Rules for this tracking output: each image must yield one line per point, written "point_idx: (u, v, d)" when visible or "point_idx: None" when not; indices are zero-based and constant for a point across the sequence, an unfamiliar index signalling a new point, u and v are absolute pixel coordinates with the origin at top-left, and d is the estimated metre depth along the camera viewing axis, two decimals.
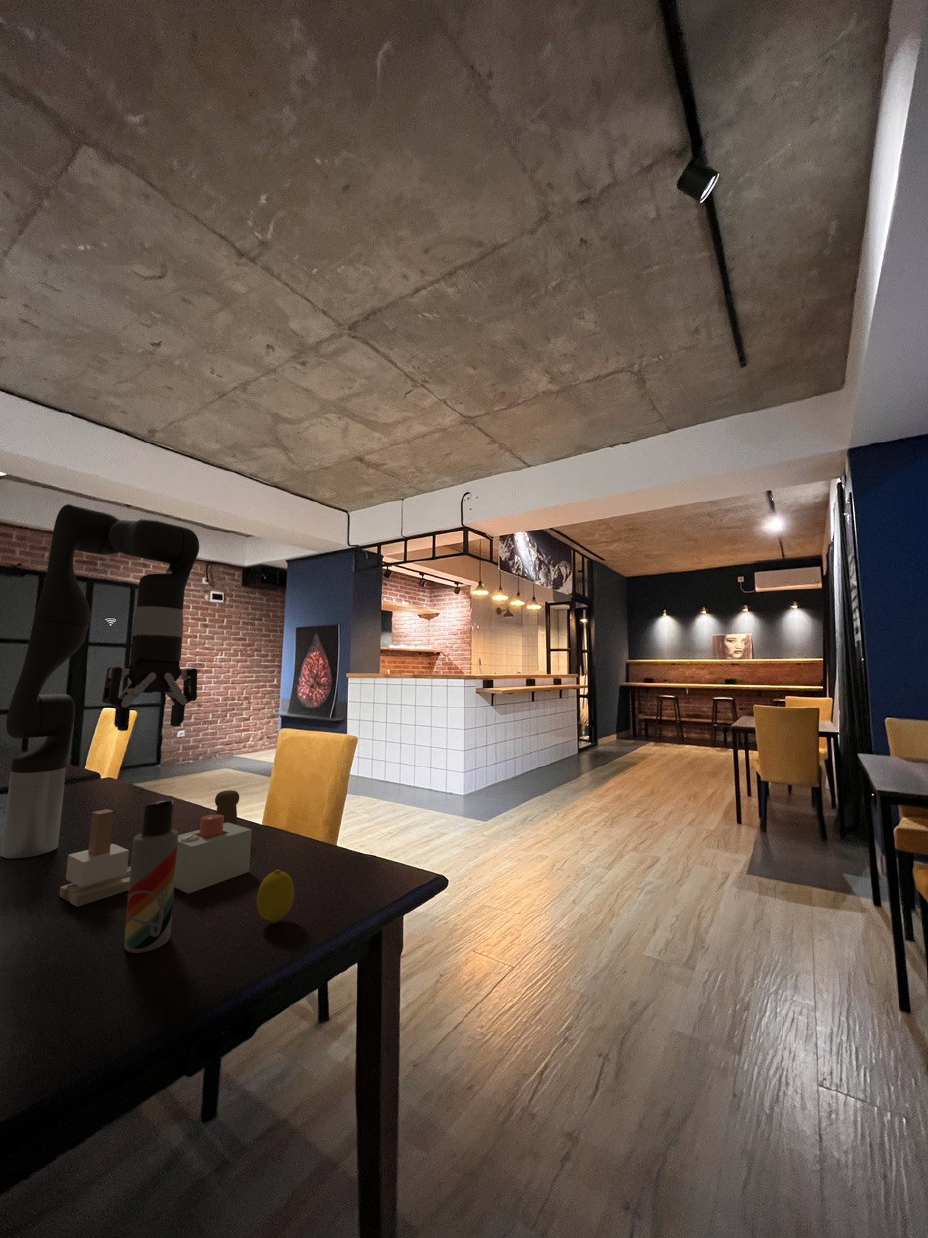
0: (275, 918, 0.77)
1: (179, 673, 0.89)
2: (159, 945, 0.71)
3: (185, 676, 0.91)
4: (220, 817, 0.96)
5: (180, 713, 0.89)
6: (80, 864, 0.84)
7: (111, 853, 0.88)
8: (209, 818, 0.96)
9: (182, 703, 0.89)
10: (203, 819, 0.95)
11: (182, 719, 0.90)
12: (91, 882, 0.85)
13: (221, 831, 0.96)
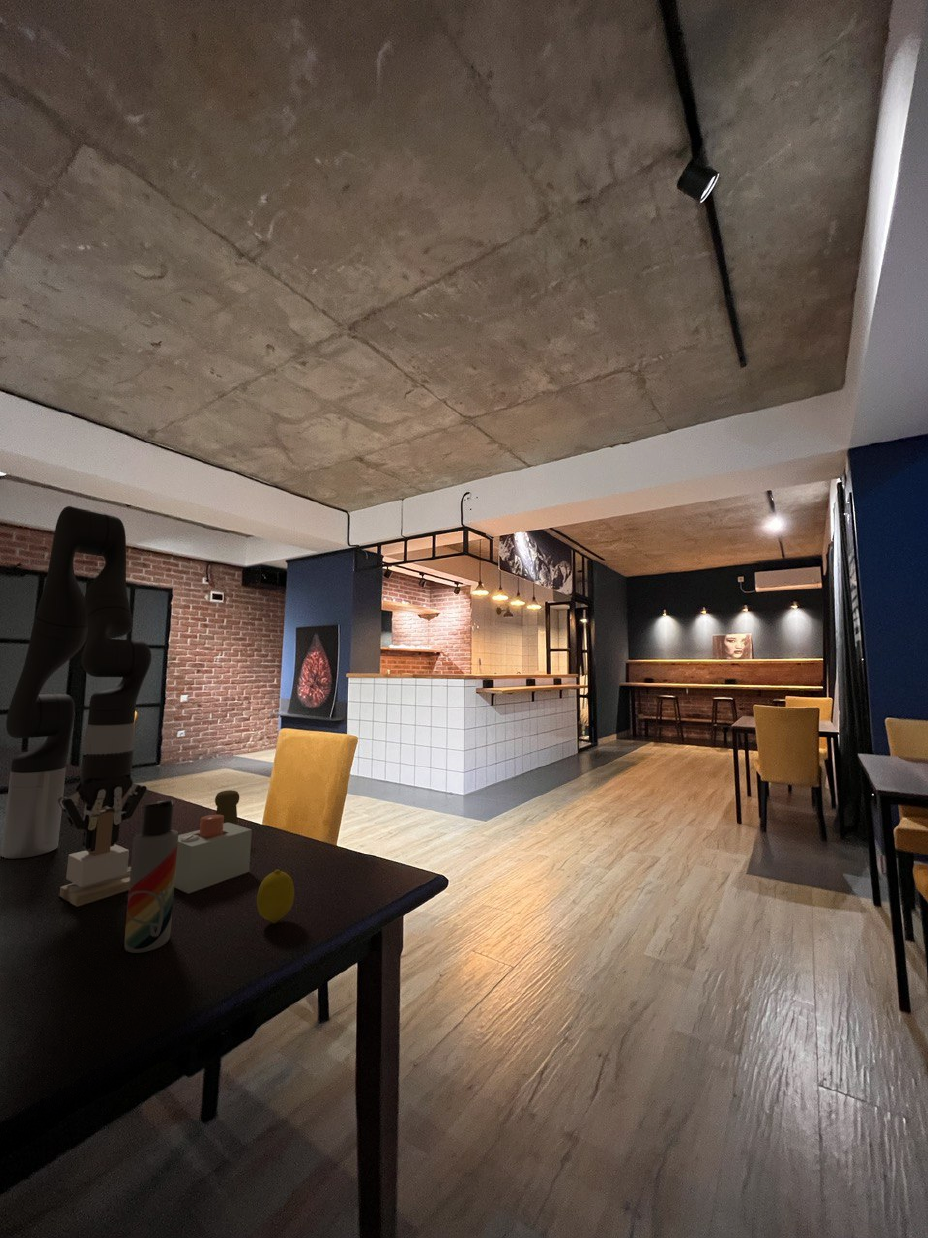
0: (275, 918, 0.77)
1: (129, 786, 0.92)
2: (159, 945, 0.71)
3: (133, 791, 0.93)
4: (220, 817, 0.96)
5: (114, 833, 0.89)
6: (80, 864, 0.84)
7: (111, 853, 0.88)
8: (209, 818, 0.96)
9: (115, 822, 0.90)
10: (203, 819, 0.95)
11: (116, 838, 0.90)
12: (91, 882, 0.85)
13: (221, 831, 0.96)
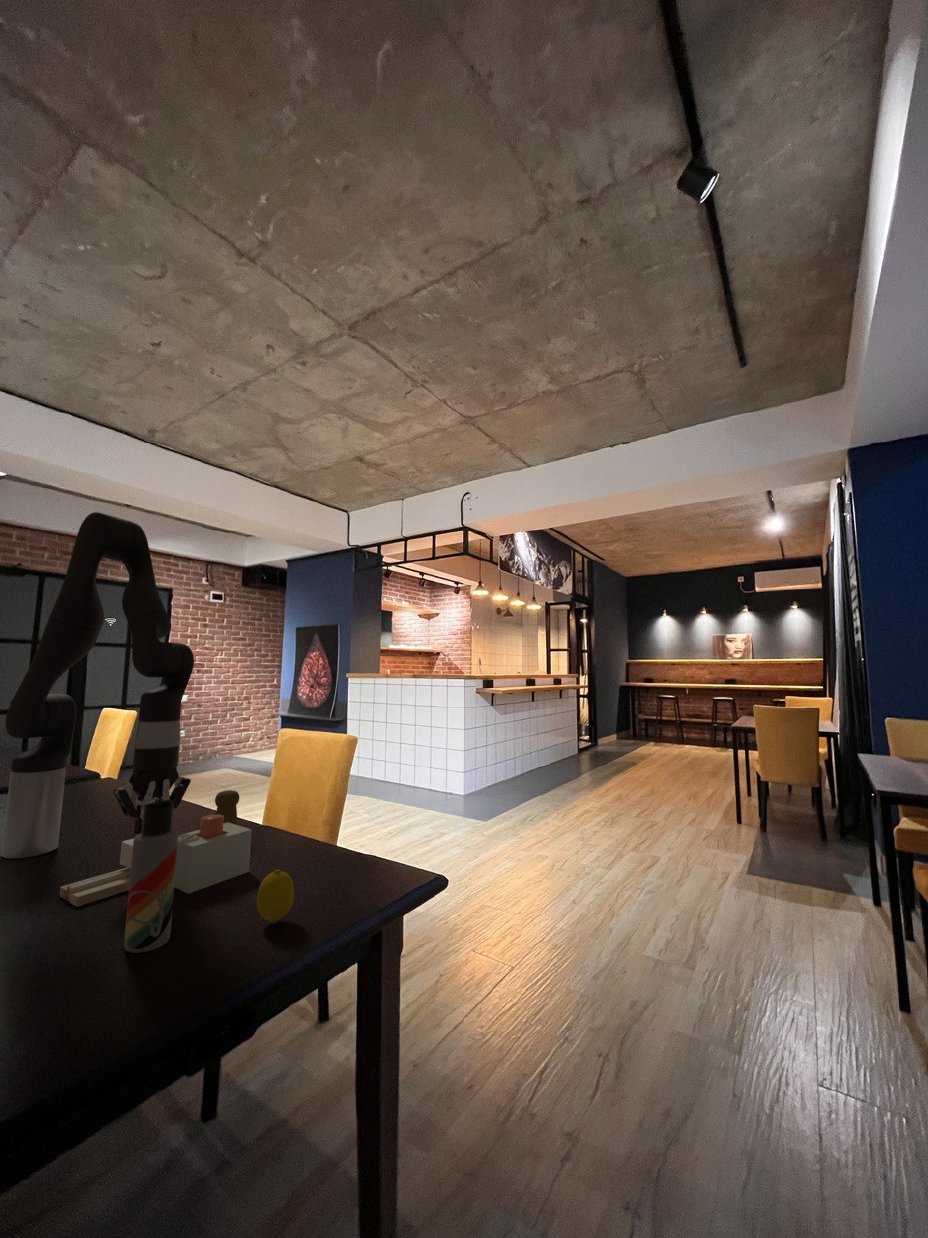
0: (275, 918, 0.77)
1: (175, 778, 0.99)
2: (159, 945, 0.71)
3: (178, 783, 1.00)
4: (220, 817, 0.96)
5: None
6: None
7: None
8: (209, 818, 0.96)
9: None
10: (203, 819, 0.95)
11: None
12: None
13: (221, 831, 0.96)
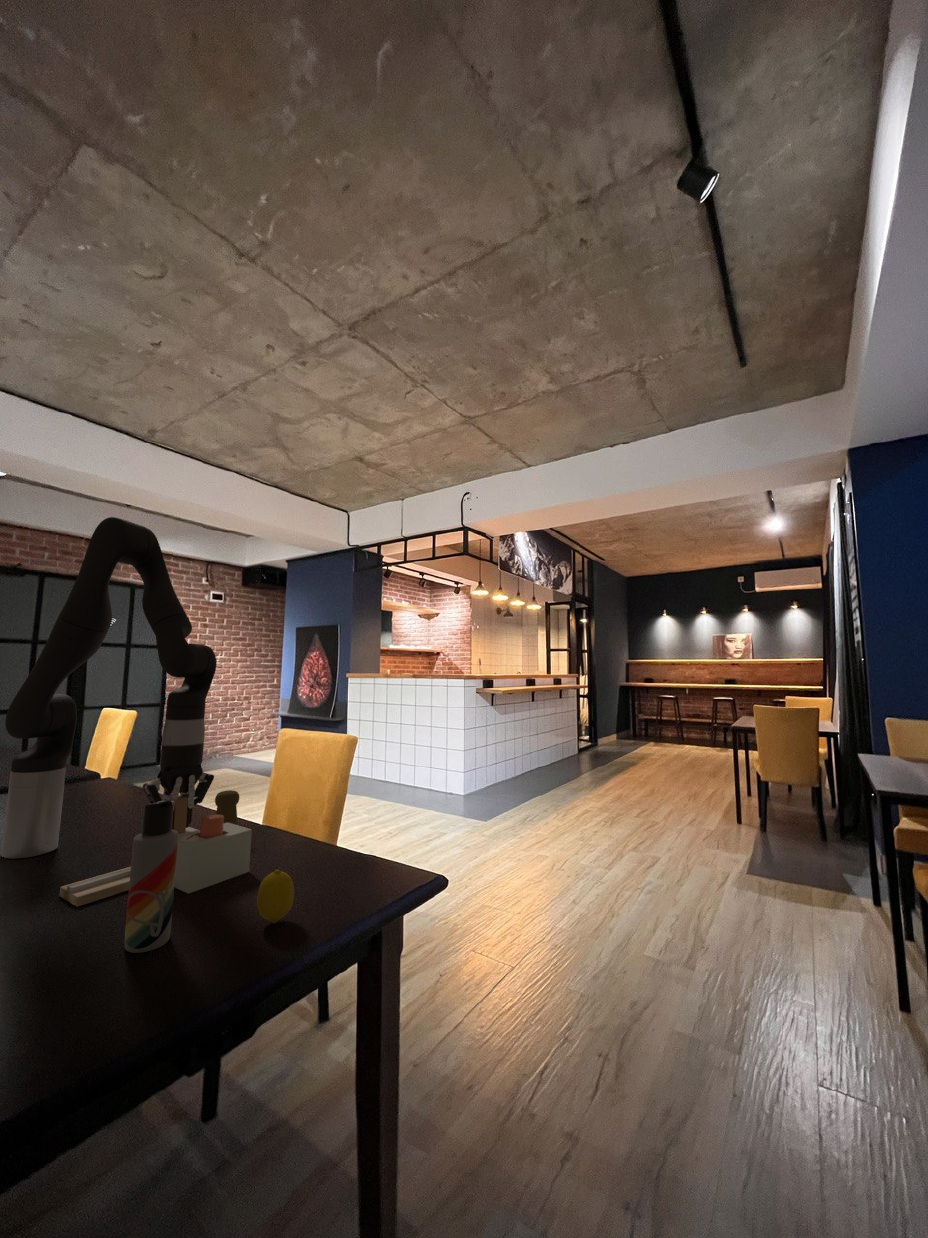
0: (275, 918, 0.77)
1: (200, 774, 1.03)
2: (159, 945, 0.71)
3: (202, 779, 1.04)
4: (220, 817, 0.96)
5: (188, 816, 1.01)
6: None
7: None
8: (209, 818, 0.96)
9: (189, 806, 1.01)
10: (203, 819, 0.95)
11: (190, 821, 1.01)
12: None
13: (221, 831, 0.96)
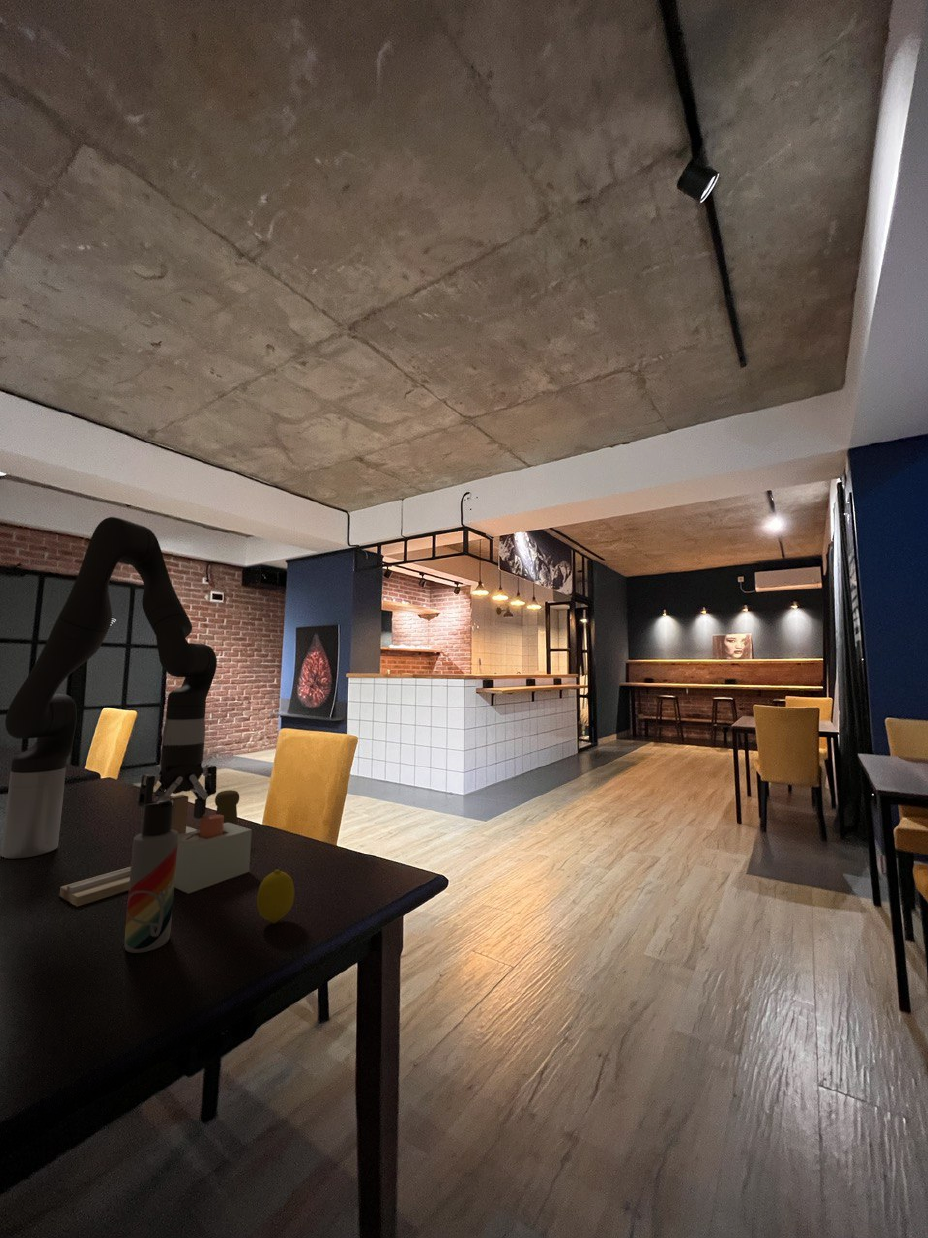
0: (275, 918, 0.77)
1: (201, 772, 1.03)
2: (159, 945, 0.71)
3: (206, 773, 1.05)
4: (220, 817, 0.96)
5: (202, 807, 1.03)
6: None
7: None
8: (209, 818, 0.96)
9: (204, 798, 1.03)
10: (203, 819, 0.95)
11: (204, 811, 1.04)
12: None
13: (221, 831, 0.96)
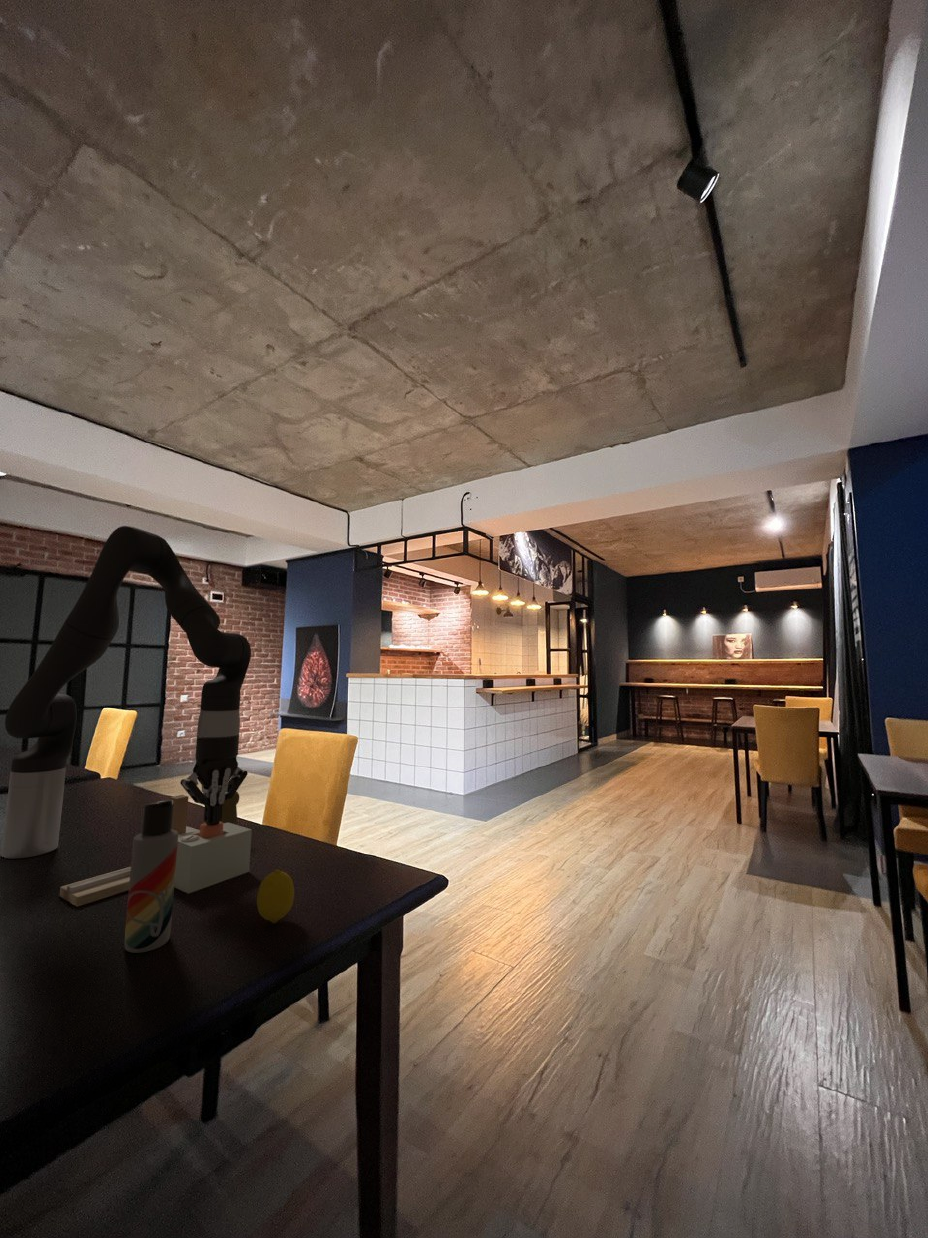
0: (275, 918, 0.77)
1: (235, 768, 1.00)
2: (159, 945, 0.71)
3: (236, 774, 1.00)
4: (220, 824, 0.96)
5: (219, 812, 0.96)
6: None
7: None
8: (208, 825, 0.95)
9: (219, 802, 0.96)
10: (202, 826, 0.95)
11: (220, 817, 0.97)
12: None
13: None
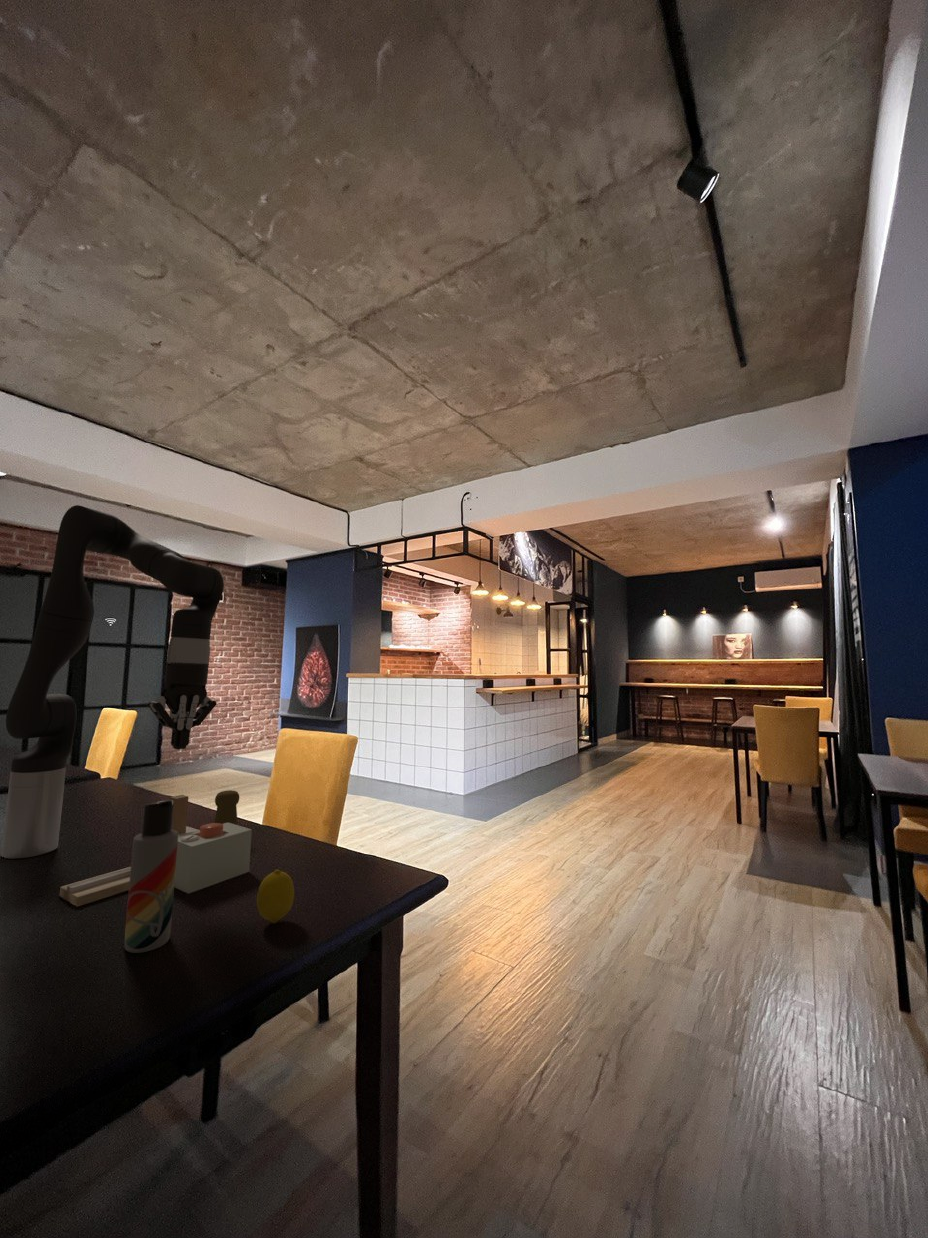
0: (275, 918, 0.77)
1: (204, 696, 1.02)
2: (159, 945, 0.71)
3: (205, 703, 1.03)
4: (219, 826, 0.96)
5: (186, 737, 0.99)
6: None
7: None
8: (208, 827, 0.95)
9: (187, 727, 0.99)
10: (202, 828, 0.95)
11: (187, 742, 0.99)
12: None
13: None
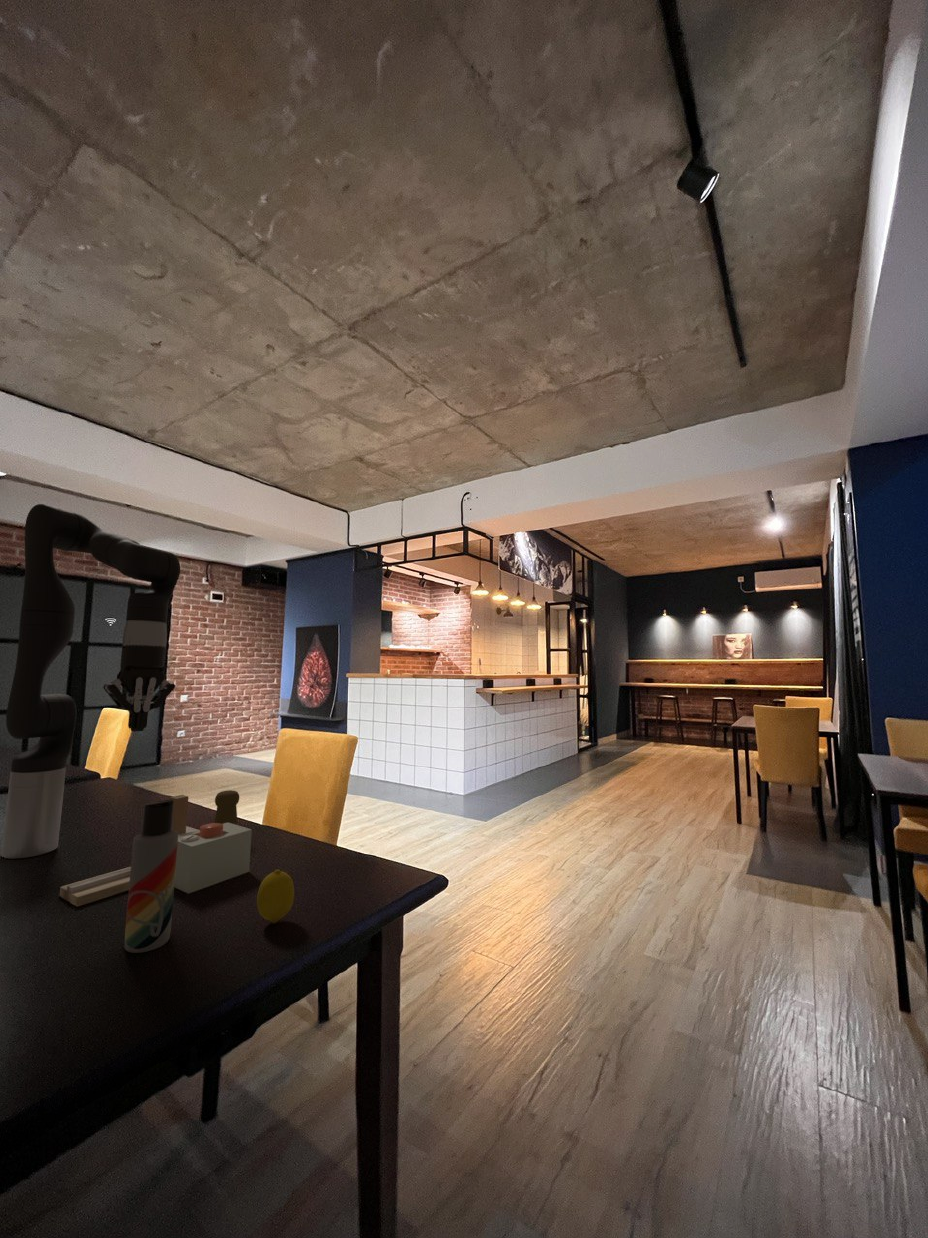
0: (276, 918, 0.77)
1: (161, 679, 1.03)
2: (159, 945, 0.71)
3: (163, 686, 1.03)
4: (219, 826, 0.96)
5: (143, 719, 0.99)
6: None
7: None
8: (208, 827, 0.95)
9: (144, 709, 0.99)
10: (202, 828, 0.95)
11: (145, 724, 1.00)
12: None
13: None
